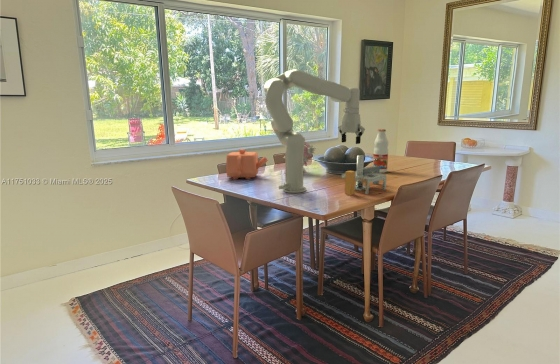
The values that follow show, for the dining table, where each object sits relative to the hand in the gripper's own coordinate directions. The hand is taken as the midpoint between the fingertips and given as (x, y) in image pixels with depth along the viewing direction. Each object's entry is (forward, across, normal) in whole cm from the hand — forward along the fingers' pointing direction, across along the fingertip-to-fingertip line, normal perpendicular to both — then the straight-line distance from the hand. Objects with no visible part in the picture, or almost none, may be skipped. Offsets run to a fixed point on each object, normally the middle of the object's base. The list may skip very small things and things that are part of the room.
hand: (350, 142), depth 206 cm
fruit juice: (+24, -11, +46) cm, 53 cm away
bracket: (+24, +8, +8) cm, 27 cm away
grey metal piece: (+24, +10, -1) cm, 26 cm away
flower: (+25, -44, +4) cm, 51 cm away
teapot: (+25, -59, -27) cm, 69 cm away
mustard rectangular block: (+24, +12, -15) cm, 31 cm away
